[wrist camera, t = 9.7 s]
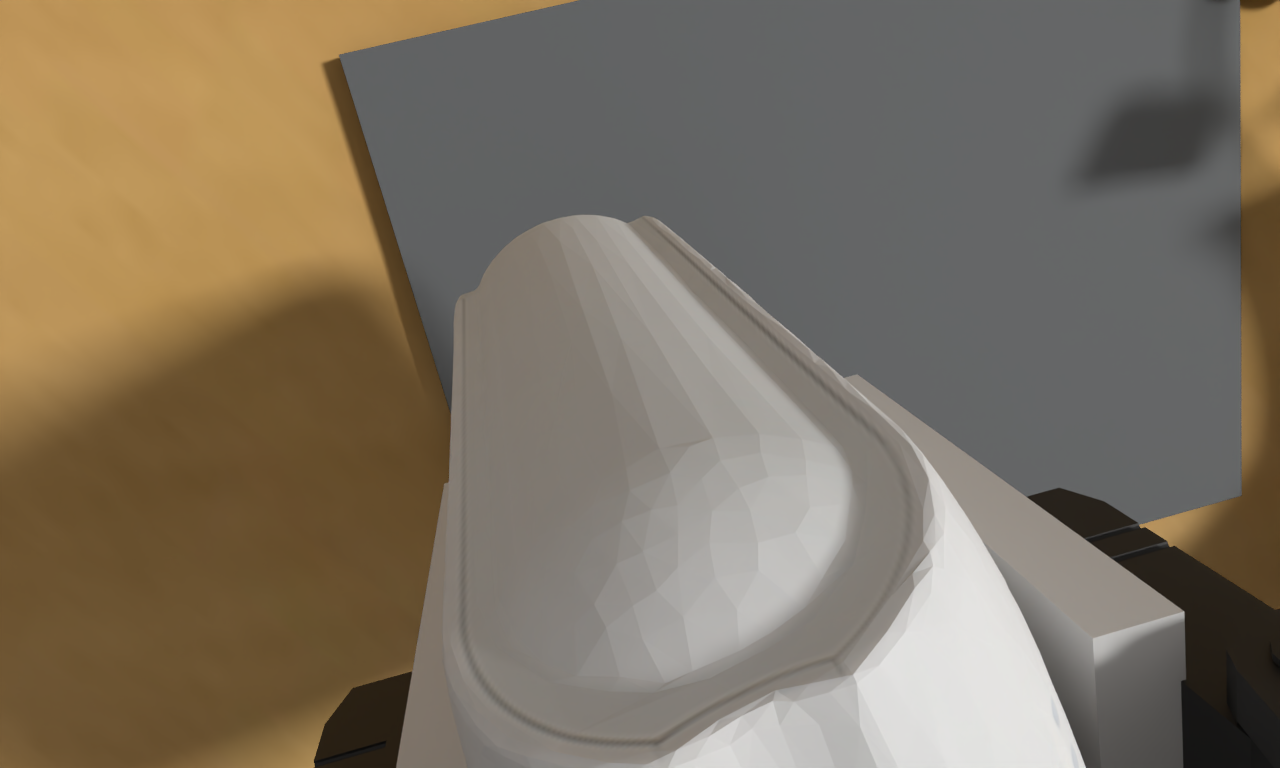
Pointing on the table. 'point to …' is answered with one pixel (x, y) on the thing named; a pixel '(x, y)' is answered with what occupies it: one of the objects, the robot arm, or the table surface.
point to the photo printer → (705, 539)
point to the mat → (879, 200)
